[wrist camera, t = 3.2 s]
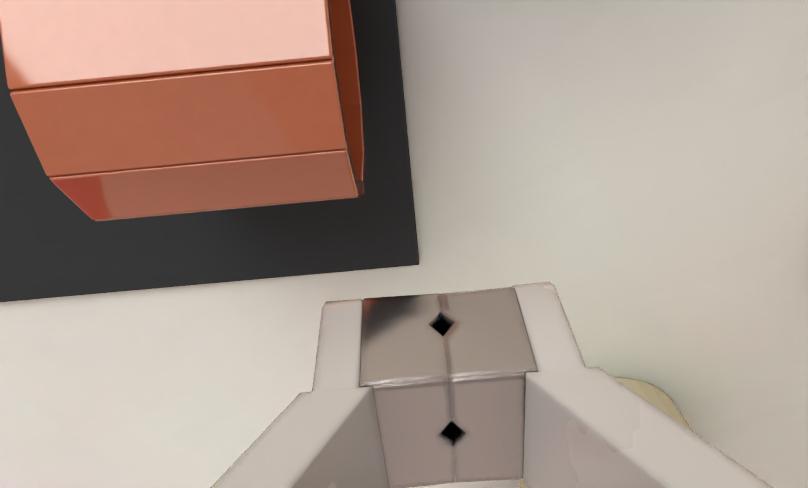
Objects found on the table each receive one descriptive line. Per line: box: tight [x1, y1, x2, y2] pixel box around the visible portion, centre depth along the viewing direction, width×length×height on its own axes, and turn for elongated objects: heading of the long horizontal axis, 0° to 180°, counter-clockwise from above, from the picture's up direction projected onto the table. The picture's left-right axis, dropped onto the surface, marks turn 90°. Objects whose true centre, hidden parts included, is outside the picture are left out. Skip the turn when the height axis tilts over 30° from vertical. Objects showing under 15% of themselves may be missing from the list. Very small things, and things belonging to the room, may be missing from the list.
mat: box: [0, 0, 419, 302], centre depth 22 cm, size 22×22×1 cm
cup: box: [0, 0, 366, 221], centre depth 19 cm, size 8×8×8 cm
